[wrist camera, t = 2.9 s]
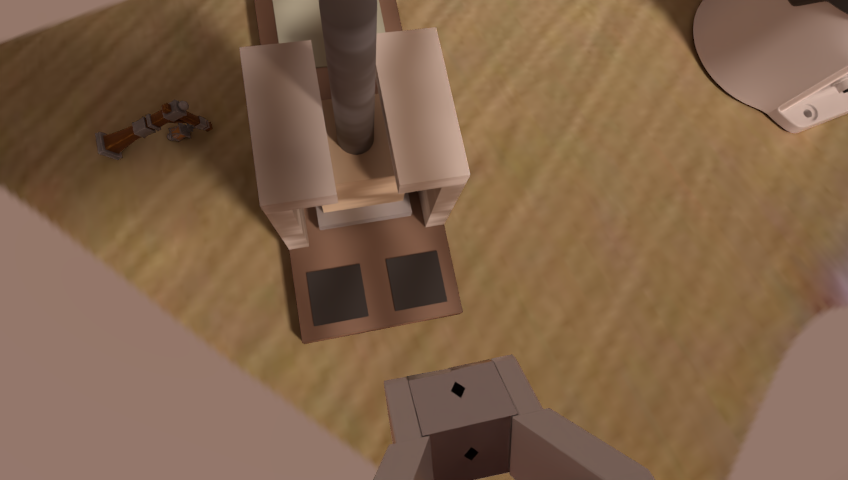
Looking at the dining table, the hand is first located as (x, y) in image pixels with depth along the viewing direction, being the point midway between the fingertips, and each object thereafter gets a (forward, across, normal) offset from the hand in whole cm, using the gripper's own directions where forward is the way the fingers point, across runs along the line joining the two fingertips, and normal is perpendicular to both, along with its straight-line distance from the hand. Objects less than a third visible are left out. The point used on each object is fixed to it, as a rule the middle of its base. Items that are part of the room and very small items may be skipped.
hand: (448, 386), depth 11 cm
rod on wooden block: (+29, 0, +7) cm, 29 cm away
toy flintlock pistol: (+35, +15, +4) cm, 38 cm away
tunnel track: (+32, 0, +6) cm, 33 cm away
